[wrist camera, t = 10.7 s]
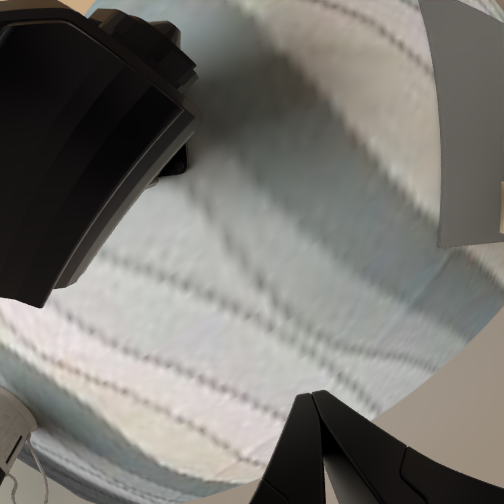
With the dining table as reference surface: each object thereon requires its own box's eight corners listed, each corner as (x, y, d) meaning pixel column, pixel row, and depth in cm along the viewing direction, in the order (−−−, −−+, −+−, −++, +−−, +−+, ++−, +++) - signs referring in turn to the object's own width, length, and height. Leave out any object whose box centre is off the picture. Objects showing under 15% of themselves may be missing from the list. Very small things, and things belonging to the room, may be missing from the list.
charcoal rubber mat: (414, -13, 13) (416, -15, 13) (518, 33, 13) (520, 33, 13) (437, 246, 20) (439, 248, 20) (530, 237, 20) (533, 238, 20)
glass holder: (-13, 373, 24) (-69, 445, 10) (75, 436, 27) (36, 528, 13) (-10, 404, 26) (-53, 468, 12) (67, 458, 29) (37, 534, 15)
